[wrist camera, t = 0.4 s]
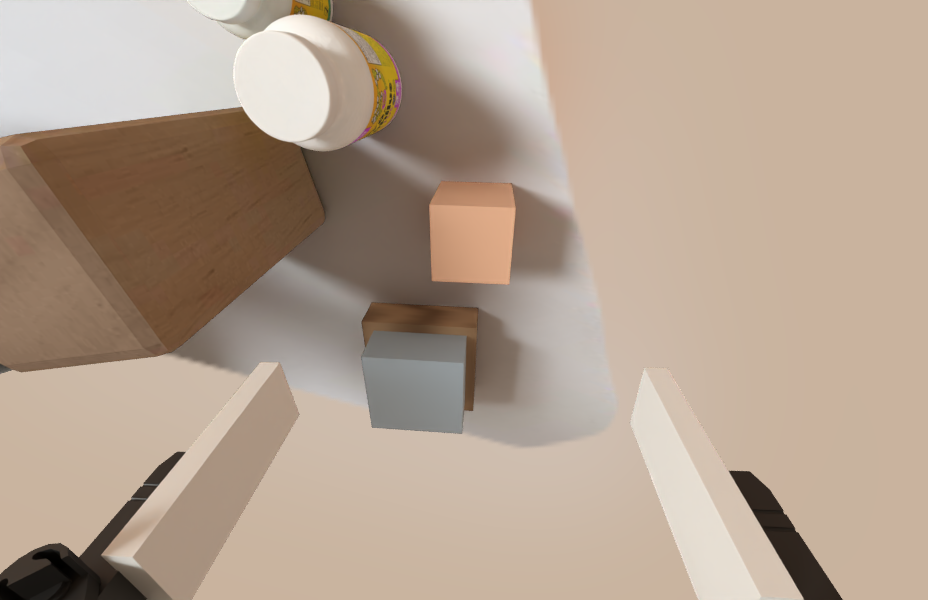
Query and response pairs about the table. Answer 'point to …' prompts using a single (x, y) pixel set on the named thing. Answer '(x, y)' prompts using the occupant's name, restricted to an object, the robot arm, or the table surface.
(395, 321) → the tower base
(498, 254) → the stack block
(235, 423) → the robot arm
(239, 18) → the supplement bottle
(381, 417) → the block
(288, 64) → the supplement bottle
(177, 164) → the block
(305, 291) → the table surface
